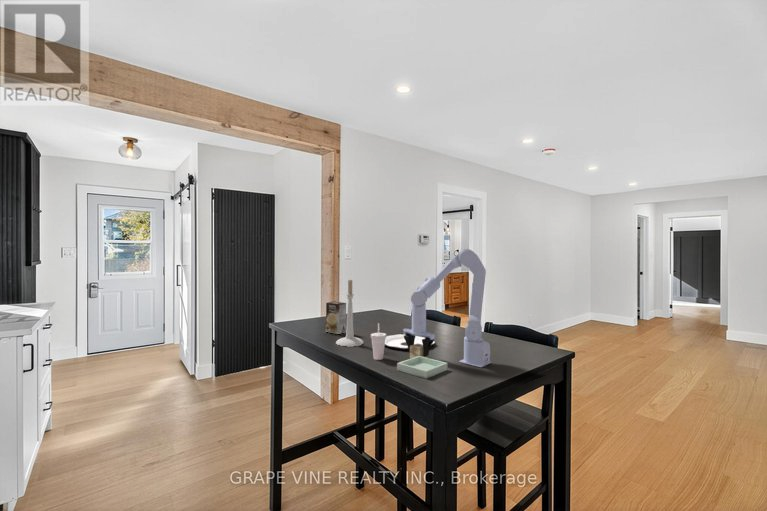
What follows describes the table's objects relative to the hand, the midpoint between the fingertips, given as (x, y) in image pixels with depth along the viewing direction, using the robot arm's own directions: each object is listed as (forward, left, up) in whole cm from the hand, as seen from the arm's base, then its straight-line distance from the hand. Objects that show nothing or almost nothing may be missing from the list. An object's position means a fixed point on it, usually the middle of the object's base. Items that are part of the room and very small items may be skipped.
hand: (418, 354), depth 143 cm
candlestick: (+37, +4, -2) cm, 37 cm away
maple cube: (0, 0, -2) cm, 2 cm away
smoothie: (+11, +12, -2) cm, 16 cm away
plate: (+17, -14, -2) cm, 22 cm away
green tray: (-10, +11, -1) cm, 15 cm away
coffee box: (+58, -5, -2) cm, 58 cm away
